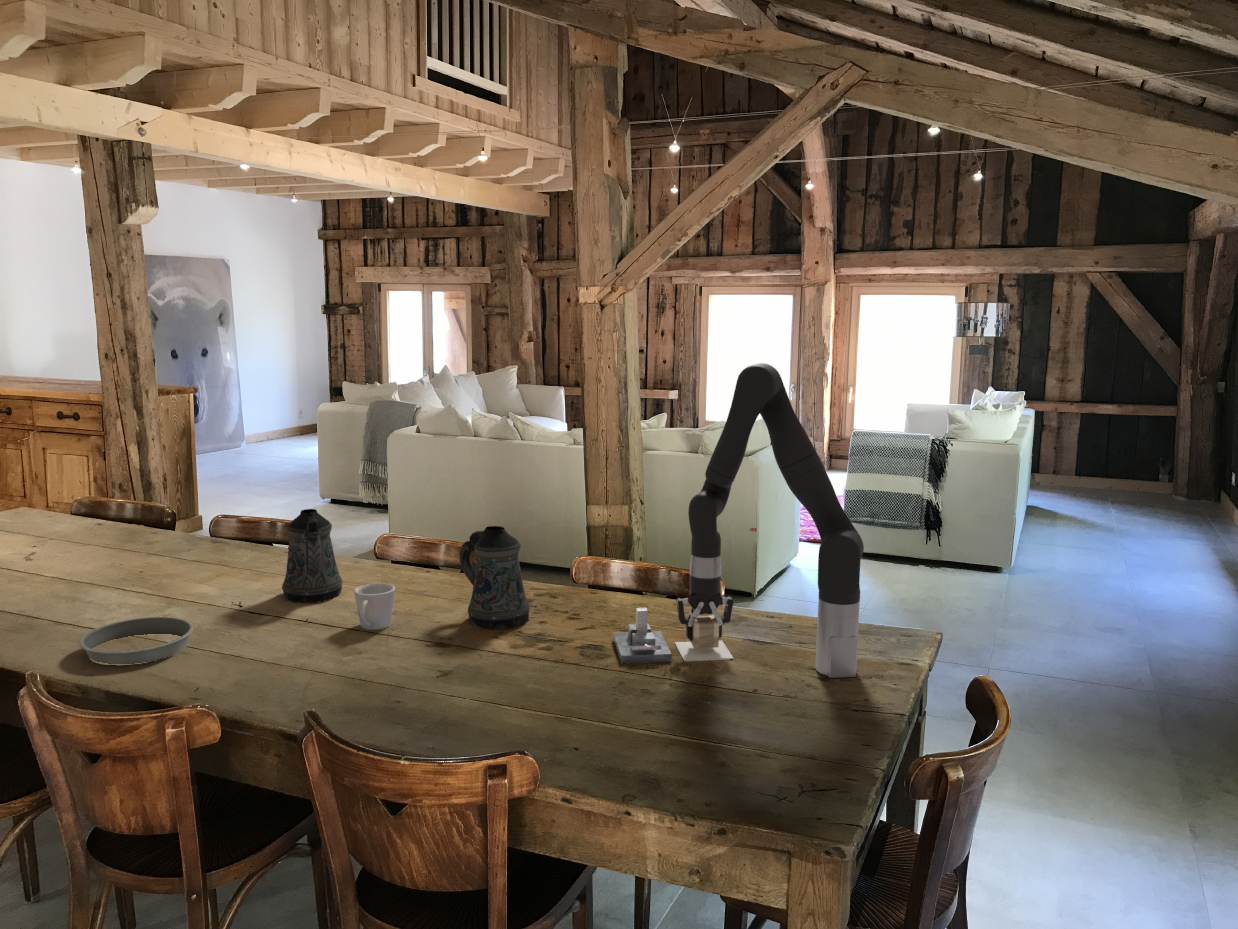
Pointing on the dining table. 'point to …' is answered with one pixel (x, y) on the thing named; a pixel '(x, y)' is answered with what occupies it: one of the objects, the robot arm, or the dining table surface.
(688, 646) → the mat
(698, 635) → the sleeve
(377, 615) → the mug
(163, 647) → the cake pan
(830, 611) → the robot arm
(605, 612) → the dining table surface
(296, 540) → the dark grey patterned jug
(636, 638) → the vise
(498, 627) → the beer stein
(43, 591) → the dining table surface
